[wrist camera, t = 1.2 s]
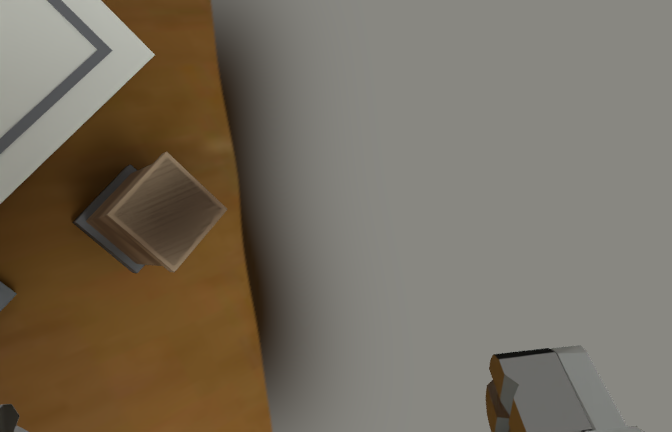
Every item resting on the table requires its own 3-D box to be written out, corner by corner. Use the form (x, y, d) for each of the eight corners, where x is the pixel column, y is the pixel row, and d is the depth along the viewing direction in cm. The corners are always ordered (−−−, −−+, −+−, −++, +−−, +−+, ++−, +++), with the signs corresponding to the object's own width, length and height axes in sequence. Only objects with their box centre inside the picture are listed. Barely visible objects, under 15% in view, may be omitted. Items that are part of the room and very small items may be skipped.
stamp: (72, 222, 38) (101, 214, 30) (126, 166, 39) (166, 146, 32) (132, 272, 39) (174, 277, 32) (181, 216, 41) (232, 208, 33)
